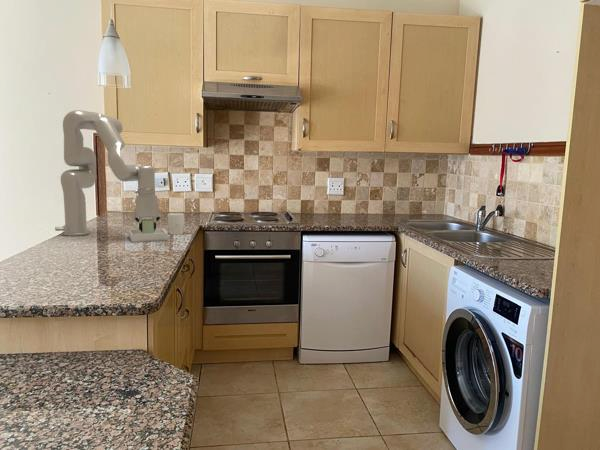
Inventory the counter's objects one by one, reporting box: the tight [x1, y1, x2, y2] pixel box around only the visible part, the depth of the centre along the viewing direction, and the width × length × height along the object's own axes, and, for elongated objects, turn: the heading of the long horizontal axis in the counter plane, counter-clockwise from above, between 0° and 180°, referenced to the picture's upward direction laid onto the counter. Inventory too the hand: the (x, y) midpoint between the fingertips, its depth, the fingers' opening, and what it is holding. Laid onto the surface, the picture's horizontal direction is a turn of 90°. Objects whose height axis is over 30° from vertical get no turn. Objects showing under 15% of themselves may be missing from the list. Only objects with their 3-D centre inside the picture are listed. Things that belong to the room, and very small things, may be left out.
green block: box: [142, 218, 154, 234], centre depth 227 cm, size 5×5×6 cm
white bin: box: [128, 227, 169, 243], centre depth 228 cm, size 16×16×4 cm
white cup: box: [167, 212, 185, 236], centre depth 243 cm, size 8×8×10 cm
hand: (147, 230), depth 228 cm, fingers closed on green block, 4 cm apart
